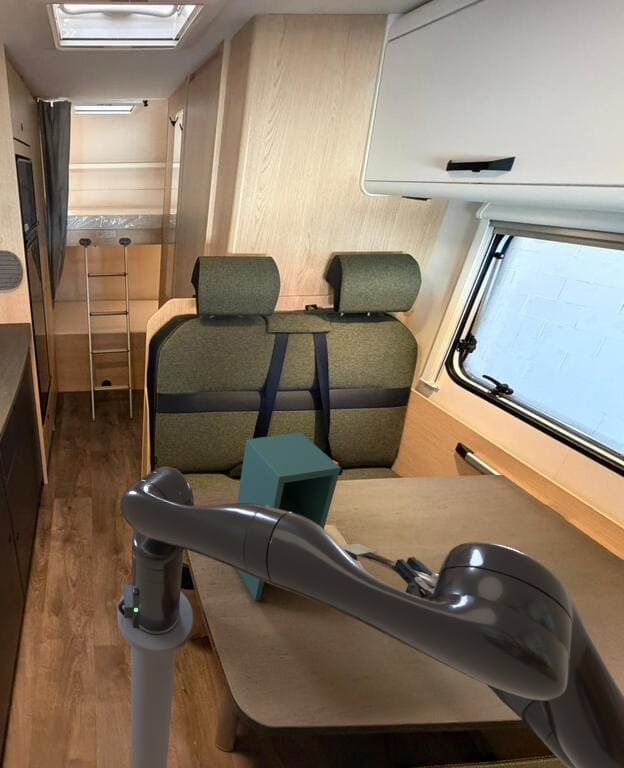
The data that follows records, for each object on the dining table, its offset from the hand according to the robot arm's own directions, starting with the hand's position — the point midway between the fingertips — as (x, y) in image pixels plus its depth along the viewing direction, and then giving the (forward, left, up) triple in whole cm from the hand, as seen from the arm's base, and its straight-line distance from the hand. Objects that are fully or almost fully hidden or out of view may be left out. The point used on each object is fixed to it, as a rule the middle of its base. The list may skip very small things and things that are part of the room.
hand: (403, 562), depth 71 cm
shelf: (-15, +15, -20) cm, 29 cm away
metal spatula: (0, +1, -3) cm, 4 cm away
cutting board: (0, +17, -20) cm, 26 cm away
